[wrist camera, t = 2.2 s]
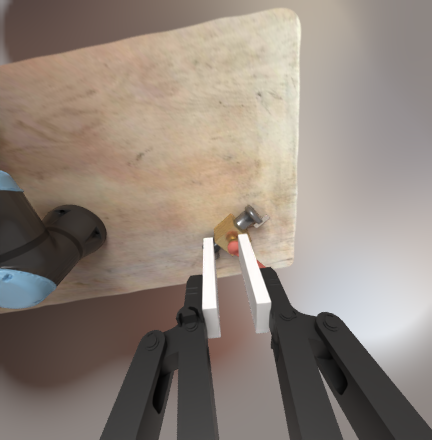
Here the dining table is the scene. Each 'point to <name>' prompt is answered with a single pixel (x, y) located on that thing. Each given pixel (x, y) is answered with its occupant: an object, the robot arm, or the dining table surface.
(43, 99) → the dining table surface
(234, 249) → the lever
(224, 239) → the valve
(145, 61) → the dining table surface
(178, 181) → the dining table surface
